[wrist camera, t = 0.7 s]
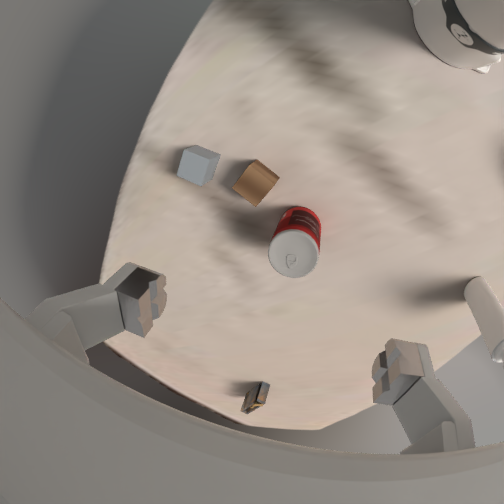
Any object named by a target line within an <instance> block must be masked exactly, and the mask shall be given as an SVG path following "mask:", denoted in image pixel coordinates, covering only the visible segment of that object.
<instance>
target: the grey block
mask: <svg viewBox="0 0 504 504" xmlns="http://www.w3.org/2000/svg"><path fill="white" fill-rule="evenodd" d="M219 158H220V154H218V153H215V152H213V151H210V150H208V149H205V148H203V147H200V146H198V145H196V146H193V147H190V148H187V149H184V151H183V155H182V158H181V162H180V165H179V169H178V172H177V176H179V177H181V178H183V179H186V180H188V181H190V182H193V183H195V184H197V185H199V186H202V185H204V184H205V183H207V182H209V181H210V180H212V178H213V175H214V172H215V170H216V167H217V164H218V161H219Z"/></svg>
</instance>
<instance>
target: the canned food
mask: <svg viewBox="0 0 504 504" xmlns="http://www.w3.org/2000/svg"><path fill="white" fill-rule="evenodd" d="M320 236H321V224H320V221H319V218H318V217H317V215H316V214H315V213H314V212H313V211H311V210H310V209H308V208H305V207H295V208H292V209H289V210H288V211H286V212H285V213H284V214H283V216H282V217H281V219H280V222H279V224H278V226H277V228H276V231H275V233H274V235H273V237H272V240H271V242H270V245H269V250H268V257H269V261H270V263H271V265H272V266H273V268H274V269H275V270H276V271H277V272H279V273H280V274H282V275H284V276H287V277H291V278H298V277H303V276H305V275H307V274H309V273H310V272H312V270H313V269H314V268H315V266H316V265H317V262H318V259H319V250H320Z"/></svg>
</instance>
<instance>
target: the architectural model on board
mask: <svg viewBox="0 0 504 504" xmlns="http://www.w3.org/2000/svg"><path fill="white" fill-rule="evenodd" d="M259 387H260V384H259V385H258V386H256V387H255V388H254V389H252V390H251V391H249V392H248V393H247V394H246V396H245V399H244V402H243V405H242V408H241V412H244V413H246V414H249V413H250V412H252V411H254V410H256V409H257V408H259V407H261V406H263V405H264V404H265V401H266V398H267V394H268V391H269V387H270V384H267V383H265V382H262V385H261V388H260V391H259ZM258 391H259V392H258Z"/></svg>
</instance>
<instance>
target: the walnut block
mask: <svg viewBox="0 0 504 504" xmlns="http://www.w3.org/2000/svg"><path fill="white" fill-rule="evenodd" d="M279 178H280V177H278V176H277V175H276V174H275V173H274V172H272V171H271V170H270V169H269V168H267V167H266V166H265V165H263V164H262V163H261V162H260V161H258V160H256V161H254V162H253V163H252V164H250V165H249V166H248V168H247V169H246V170H245V171H244V173H243V174H242V175H241V177H240V178H239V179H238V181H237V182H236V183H235V185H234V186H233V187H232V189H234V190H235V191H236V192H238V193H239V194H240V195H241V196H243V197H244V198H245V199H246V200H248V201H249V202H250V203H251V204H253V205H254V206H255V207H256V206H257V205H258V204H259V203H260V202H261V200H262V199H263V198H264V197H265V196H266V194H267V193H268V192H269V191H270V190H271V189H272V187H273V186H274V185H275V184H276V182H277V181H278V179H279Z"/></svg>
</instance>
